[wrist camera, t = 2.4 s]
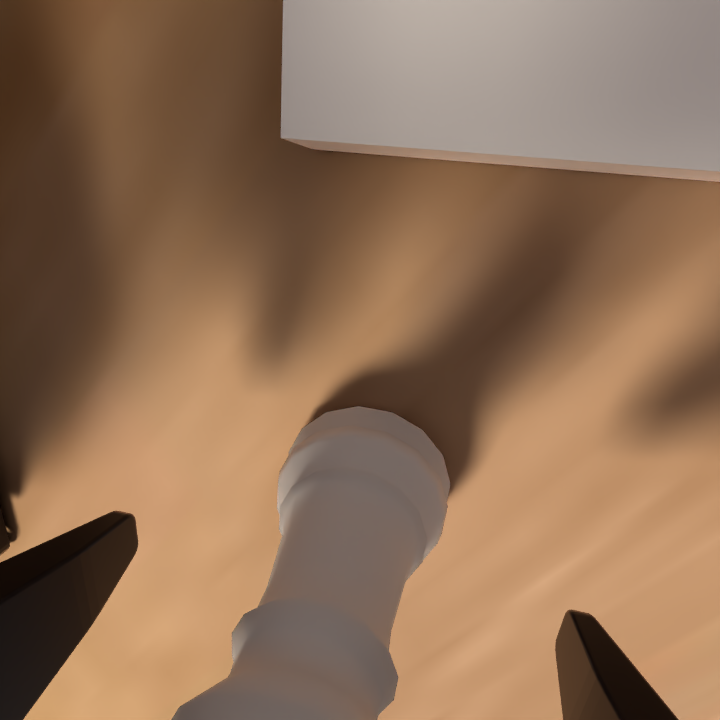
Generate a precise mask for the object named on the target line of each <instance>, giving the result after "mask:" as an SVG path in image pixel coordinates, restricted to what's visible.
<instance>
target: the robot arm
mask: <svg viewBox="0 0 720 720" xmlns="http://www.w3.org/2000/svg"><path fill="white" fill-rule="evenodd" d="M9 547H10V542H9V538H8V534H7V530H6V527H5V523H4V519H3V515H2V511H1V508H0V555H1V554H3V553H4V552H5V551H6V550H8V549H9ZM137 548H138V536H137V528H136V520H135V517H134V516H133V514H130V513H126V512H121V511H113V512H110V513H108V514H106V515H104V516H101V517H99V518H97V519H95V520H93V521H90V522H88V523H86V524H84V525H82V526H79V527H77V528H75V529H73V530H71V531H69V532H66V533H64V534H62V535H60V536H58V537H55V538H53V539H51V540H49V541H47V542H44V543H42V544H40V545H38V546H36V547H33V548H31V549H29V550H27V551H25V552H23V553H20V554H18V555H16V556H14V557H12V558H9V559H7V560H5V561H3V562H1V563H0V720H23V719H24V718H25V716H26V715H27V713H28V712H29V711H30V709H31V708H32V707H33V705H34V704H35V703H36V701H37V700H38V698H39V697H40V696H41V694H42V693H43V692H44V690H45V689H46V687H47V686H48V685H49V683H50V682H51V681H52V679H53V678H54V677H55V675H56V674H57V672H58V671H59V670H60V668H61V667H62V666H63V664H64V663H65V661H66V660H67V659H68V657H69V656H70V655H71V653H72V652H73V651H74V649H75V648H76V646H77V645H78V644H79V642H80V641H81V640H82V638H83V637H84V635H85V634H86V633H87V631H88V630H89V628H90V627H91V626H92V624H93V623H94V621H95V619H96V618H97V616H98V615H99V613H100V612H101V610H102V608H103V607H104V605H105V603H106V602H107V600H108V598H109V597H110V595H111V593H112V592H113V590H114V589H115V587H116V585H117V584H118V582H119V580H120V579H121V577H122V575H123V574H124V572H125V570H126V569H127V567H128V565H129V564H130V562H131V560H132V559H133V557H134V555H135V553H136V551H137ZM555 651H556V661H557V670H558V678H559V687H560V696H561V705H562V713H563V720H678V718H677V717H676V716H675V715H674V714H673V712H672V711H671V710H670V709H669V707H668V706H667V705H666V704H665V703H664V701H663V700H662V699H661V698H660V696H659V695H658V694H657V693H656V692H655V690H654V689H653V688H652V687H651V686H650V684H649V683H648V682H647V681H646V679H645V678H644V677H643V676H642V675H641V673H640V672H639V671H638V670H637V668H636V667H635V666H634V665H633V664H632V662H631V661H630V660H629V659H628V658H627V656H626V655H625V654H624V653H623V651H622V650H621V649H620V648H619V647H618V645H617V644H616V643H615V642H614V640H613V639H612V638H611V637H610V636H609V634H608V633H607V632H606V631H605V630H604V628H603V627H602V626H601V625H600V623H599V622H598V621H597V620H596V619H595V618H594V617H593V616H592V615H591V614H589V613H585V612H580V611H576V610H568V611H567V612H566V614H565V616H564V619H563V622H562V624H561V627H560V630H559V633H558V636H557V639H556V646H555Z"/></svg>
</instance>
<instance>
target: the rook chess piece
mask: <svg viewBox="0 0 720 720" xmlns="http://www.w3.org/2000/svg"><path fill="white" fill-rule="evenodd" d="M450 485H451V484H450V480H449V476H448V473H447V469H446V465H445V461H444V457H443V455H442V454H441V452H440V451H439V450H438V449H437V447H436V446H435V445H434V444H433V442H432V441H431V440H430V439H429V437H428V436H427V435H426V434H425V432H424V431H423V430H422V429H420V428H418V427H417V426H415V425H413V424H412V423H410V422H408V421H406V420H405V419H403V418H401V417H400V416H398V415H396V414H394V413H393V412H388V411H382V410H377V409H371V408H366V407H360V406H356V407H351V408H346V409H340V410H335V411H329V412H326V413H324V414H323V415H321V416H320V417H318V418H317V419H315V420H314V421H312V422H311V423H309V424H308V425H307V426H305V427H304V428H302V430H301V431H300V433H299V435H298V437H297V438H296V440H295V442H294V444H293V445H292V447H291V449H290V451H289V456H288V458H287V460H286V461H285V463H284V465H283V467H282V468H281V470H280V473H279V480H278V498H277V509H278V512H279V514H280V519H279V530H280V532H281V535H282V539H281V542H280V545H279V549H278V552H277V555H276V559H275V562H274V565H273V569H272V572H271V576H270V579H269V582H268V586H267V588H266V590H265V593H264V595H263V597H262V599H261V601H260V603H259V605H258V608H256V609H254V610H251V611H249V612H247V613H245V614H244V615H243V617H242V618H241V620H240V621H239V623H238V624H237V626H236V628H235V629H234V631H233V632H232V658H233V662H234V663H233V666H232V669H231V672H230V674H229V676H228V678H226V679H224V680H223V681H221V682H219V683H218V684H216V685H214V686H213V687H211V688H210V689H208V690H206V691H205V692H203V693H201V694H200V695H198V696H196V697H195V698H193V699H192V700H190V701H188V702H187V703H185V704H183V705H182V706H180V707H179V709H178V710H177V712H176V713H175V715H174V716H173V718H172V720H377V718H378V715H379V714H380V713H381V712H382V711H383V710H384V709H385V708H386V707H387V706H388V705H389V704H390V703H391V702H392V701H393V700H394V696H395V691H396V686H397V681H398V675H397V672H396V669H395V667H394V664H393V661H392V658H391V655H390V653H389V644H390V636H391V630H392V626H393V623H394V619H395V616H396V612H397V609H398V605H399V602H400V598H401V595H402V591H403V588H404V584H405V582H406V580H407V579H408V578H409V577H410V576H411V575H412V573H413V572H414V571H415V570H416V569H417V568H418V566H419V565H420V564H421V563H422V562H423V560H424V558H425V557H426V556H427V555H428V554H429V553H430V551H431V550H432V549H433V548H434V547H435V546H436V544H437V543H438V541H439V539H440V536H441V534H442V530H443V526H444V521H445V516H446V512H447V507H448V505H447V499H448V494H449V489H450Z"/></svg>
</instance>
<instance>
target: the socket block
mask: <svg viewBox="0 0 720 720" xmlns="http://www.w3.org/2000/svg"><path fill="white" fill-rule="evenodd" d="M281 138H282V139H285V140H288V141H291V142H293V143H296V144H299V145H302V146H305V147H307V148H310V149H313V150H326V151H338V152H351V153H363V154H376V155H388V156H401V157H413V158H426V159H439V160H451V161H464V162H476V163H489V164H501V165H514V166H526V167H539V168H551V169H564V170H576V171H589V172H601V173H614V174H627V175H639V176H652V177H664V178H677V179H689V180H702V181H714V182H720V0H283V36H282V92H281Z"/></svg>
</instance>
